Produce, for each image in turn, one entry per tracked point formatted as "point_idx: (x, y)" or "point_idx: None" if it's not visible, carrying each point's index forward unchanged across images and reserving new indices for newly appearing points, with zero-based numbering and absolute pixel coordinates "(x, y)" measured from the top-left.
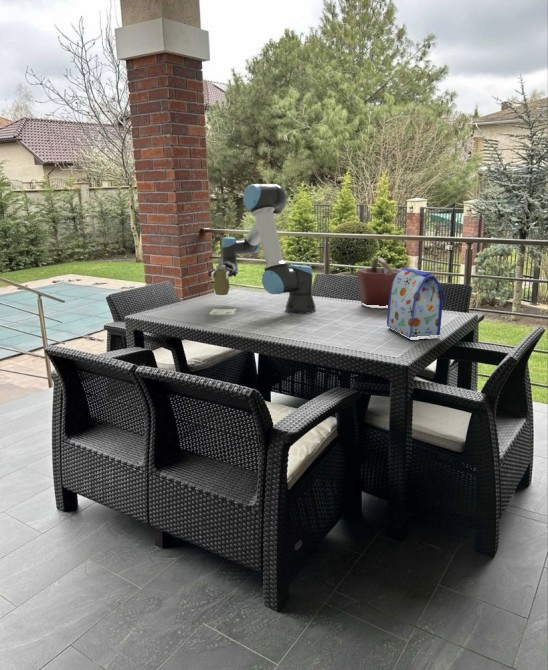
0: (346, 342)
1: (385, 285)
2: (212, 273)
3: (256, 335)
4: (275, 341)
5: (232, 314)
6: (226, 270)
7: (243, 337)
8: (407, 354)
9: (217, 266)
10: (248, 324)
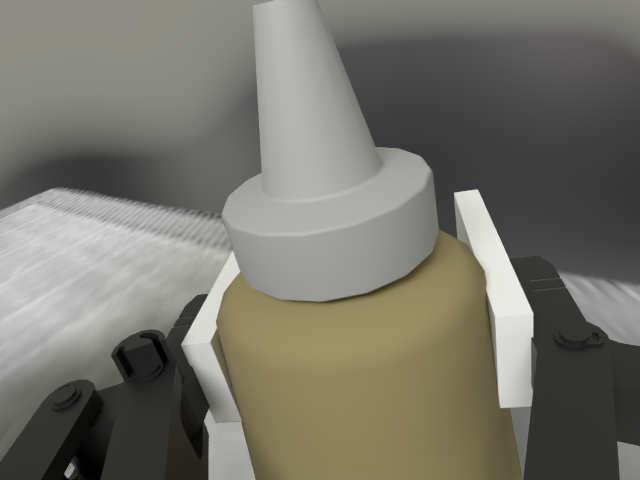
0: (46, 239)
1: None
2: (457, 194)
3: None
4: (199, 219)
5: None
6: (238, 274)
7: None
8: (4, 214)
9: (385, 149)
10: None
